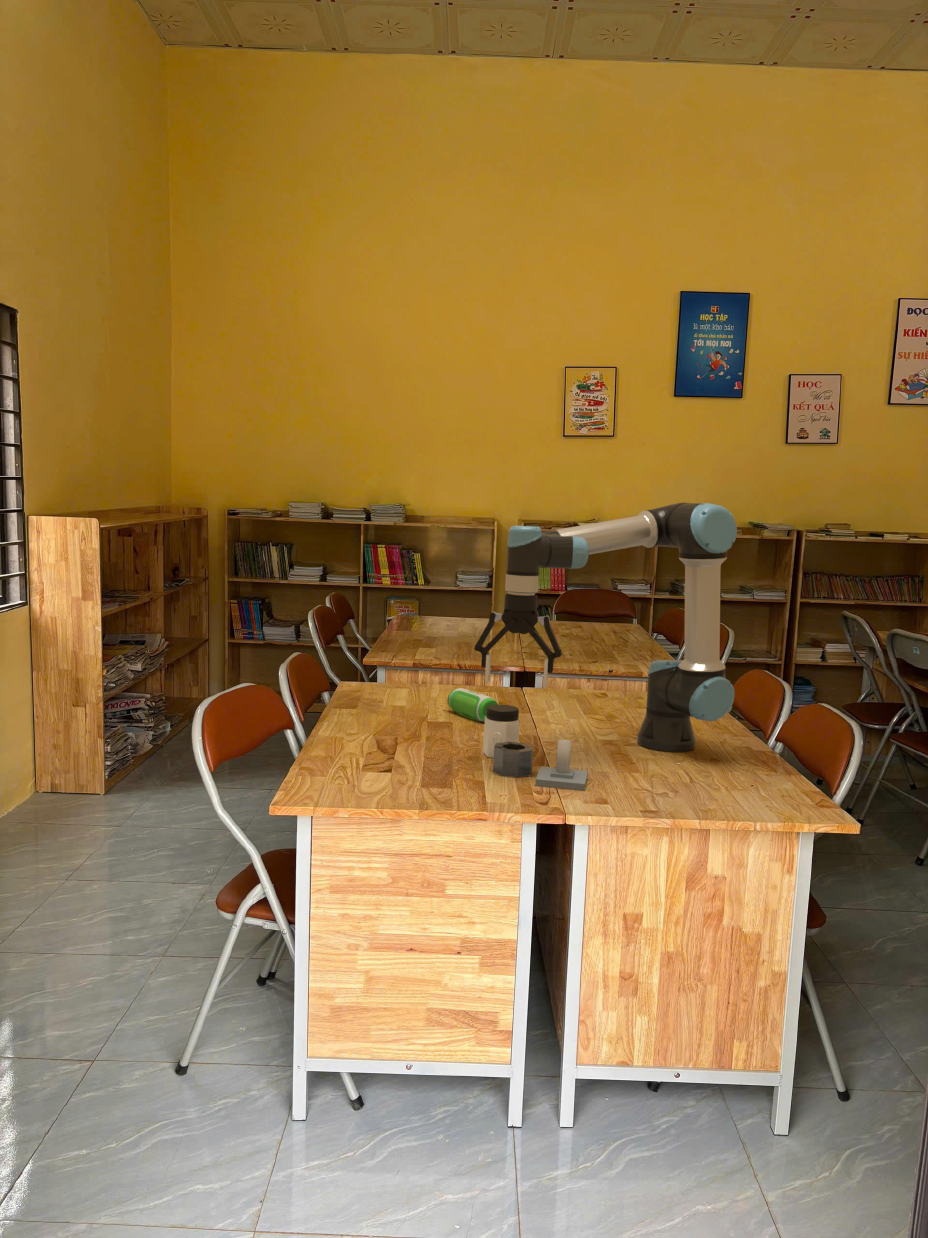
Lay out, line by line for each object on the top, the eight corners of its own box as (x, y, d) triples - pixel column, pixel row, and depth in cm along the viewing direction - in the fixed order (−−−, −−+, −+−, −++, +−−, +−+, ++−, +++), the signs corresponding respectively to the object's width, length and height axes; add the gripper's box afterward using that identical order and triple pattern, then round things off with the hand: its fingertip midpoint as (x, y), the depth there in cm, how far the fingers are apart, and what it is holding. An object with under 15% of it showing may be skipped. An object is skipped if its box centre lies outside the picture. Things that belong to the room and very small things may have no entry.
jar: (478, 756, 243) (480, 709, 241) (487, 749, 250) (489, 703, 249) (513, 761, 240) (516, 713, 239) (521, 753, 248) (524, 706, 246)
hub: (533, 768, 234) (534, 744, 234) (528, 778, 226) (530, 753, 225) (496, 765, 236) (498, 740, 235) (491, 775, 227) (492, 749, 226)
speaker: (500, 722, 281) (501, 697, 280) (479, 725, 277) (481, 699, 276) (465, 710, 295) (466, 685, 294) (445, 712, 291) (446, 687, 290)
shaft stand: (587, 777, 229) (590, 737, 228) (584, 790, 218) (587, 749, 217) (540, 772, 231) (542, 733, 230) (535, 785, 220) (537, 744, 219)
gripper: (576, 595, 227) (571, 685, 230) (471, 588, 232) (466, 676, 234) (574, 598, 220) (568, 691, 223) (465, 591, 225) (460, 682, 227)
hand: (516, 684), depth 228 cm, fingers open, 13 cm apart
